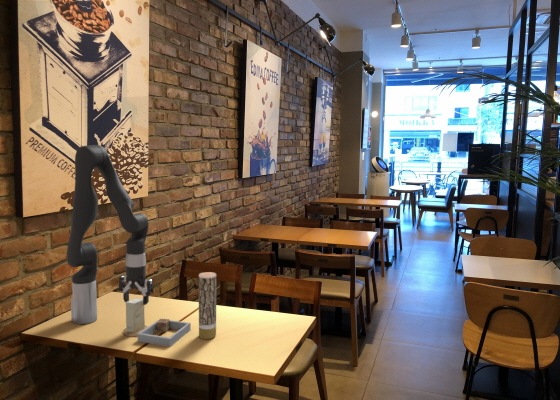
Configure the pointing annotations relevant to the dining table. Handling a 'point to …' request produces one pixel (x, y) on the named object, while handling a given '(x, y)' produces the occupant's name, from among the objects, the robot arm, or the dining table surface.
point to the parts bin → (160, 340)
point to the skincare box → (135, 315)
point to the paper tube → (207, 305)
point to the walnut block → (163, 325)
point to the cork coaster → (132, 333)
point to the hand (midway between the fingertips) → (136, 302)
